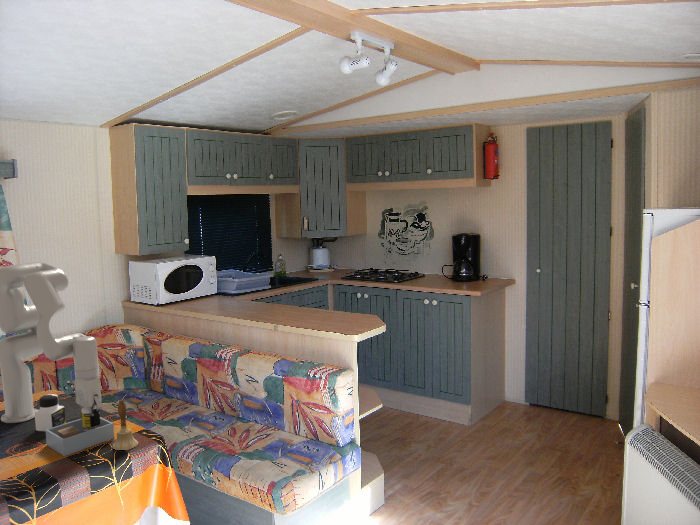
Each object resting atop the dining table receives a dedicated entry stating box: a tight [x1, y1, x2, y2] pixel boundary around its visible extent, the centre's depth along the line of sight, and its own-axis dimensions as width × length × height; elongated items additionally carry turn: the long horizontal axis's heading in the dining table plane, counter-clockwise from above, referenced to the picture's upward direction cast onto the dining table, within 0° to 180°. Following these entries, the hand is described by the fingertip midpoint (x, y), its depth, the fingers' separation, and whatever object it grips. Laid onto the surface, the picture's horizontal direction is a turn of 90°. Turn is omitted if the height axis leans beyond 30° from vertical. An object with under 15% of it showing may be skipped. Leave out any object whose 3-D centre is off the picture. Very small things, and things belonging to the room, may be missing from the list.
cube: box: [57, 426, 79, 439], centre depth 200 cm, size 5×5×5 cm
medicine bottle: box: [34, 393, 67, 432], centre depth 215 cm, size 7×7×12 cm
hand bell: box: [111, 399, 139, 451], centre depth 199 cm, size 8×8×16 cm
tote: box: [44, 416, 115, 457], centre depth 203 cm, size 13×17×6 cm
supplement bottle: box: [81, 404, 100, 431], centre depth 205 cm, size 5×5×10 cm
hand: (91, 423), depth 206 cm, fingers closed on supplement bottle, 5 cm apart
